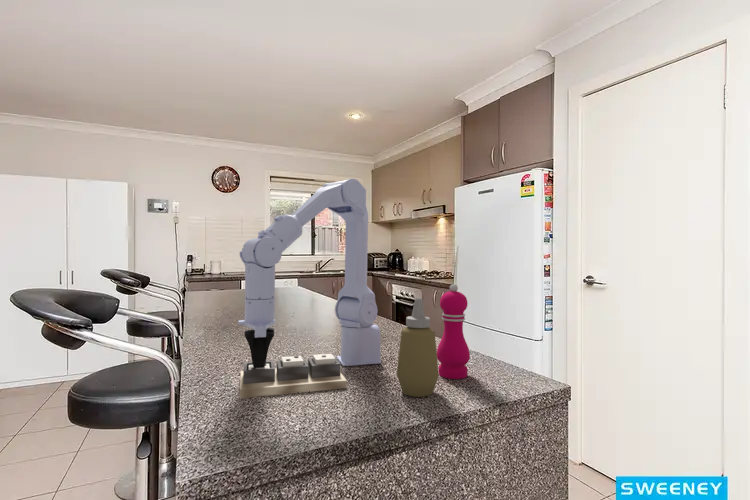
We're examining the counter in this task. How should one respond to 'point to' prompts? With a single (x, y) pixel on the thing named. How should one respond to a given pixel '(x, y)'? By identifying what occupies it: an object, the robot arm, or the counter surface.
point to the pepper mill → (453, 336)
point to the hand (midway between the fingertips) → (259, 366)
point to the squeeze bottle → (417, 355)
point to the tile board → (290, 379)
